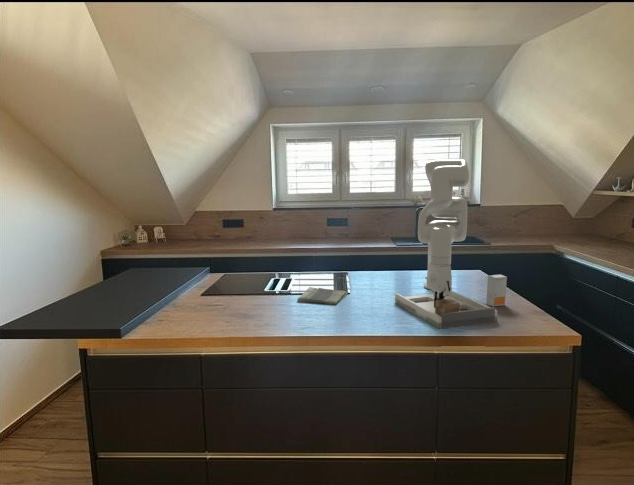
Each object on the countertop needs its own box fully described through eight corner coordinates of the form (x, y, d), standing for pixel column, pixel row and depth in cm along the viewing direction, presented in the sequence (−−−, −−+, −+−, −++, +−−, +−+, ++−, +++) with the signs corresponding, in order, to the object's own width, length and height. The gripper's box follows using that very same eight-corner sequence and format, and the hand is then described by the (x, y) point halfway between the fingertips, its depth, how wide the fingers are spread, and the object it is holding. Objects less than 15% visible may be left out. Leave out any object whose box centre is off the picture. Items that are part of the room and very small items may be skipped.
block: (435, 313, 153) (435, 300, 152) (449, 311, 154) (449, 298, 154) (444, 318, 147) (445, 304, 146) (459, 316, 149) (459, 303, 148)
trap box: (395, 302, 173) (395, 291, 172) (445, 297, 179) (445, 285, 179) (438, 328, 142) (439, 314, 142) (496, 321, 149) (497, 307, 148)
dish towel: (337, 307, 170) (337, 299, 169) (296, 303, 176) (296, 296, 175) (348, 294, 187) (348, 287, 187) (311, 291, 193) (311, 285, 192)
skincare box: (492, 307, 165) (494, 277, 163) (485, 303, 169) (487, 275, 167) (505, 305, 167) (507, 276, 165) (498, 302, 171) (500, 274, 169)
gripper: (420, 257, 159) (419, 303, 162) (443, 265, 145) (441, 315, 148) (437, 256, 161) (436, 301, 164) (461, 263, 147) (459, 313, 150)
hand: (438, 308), depth 156 cm, fingers closed
